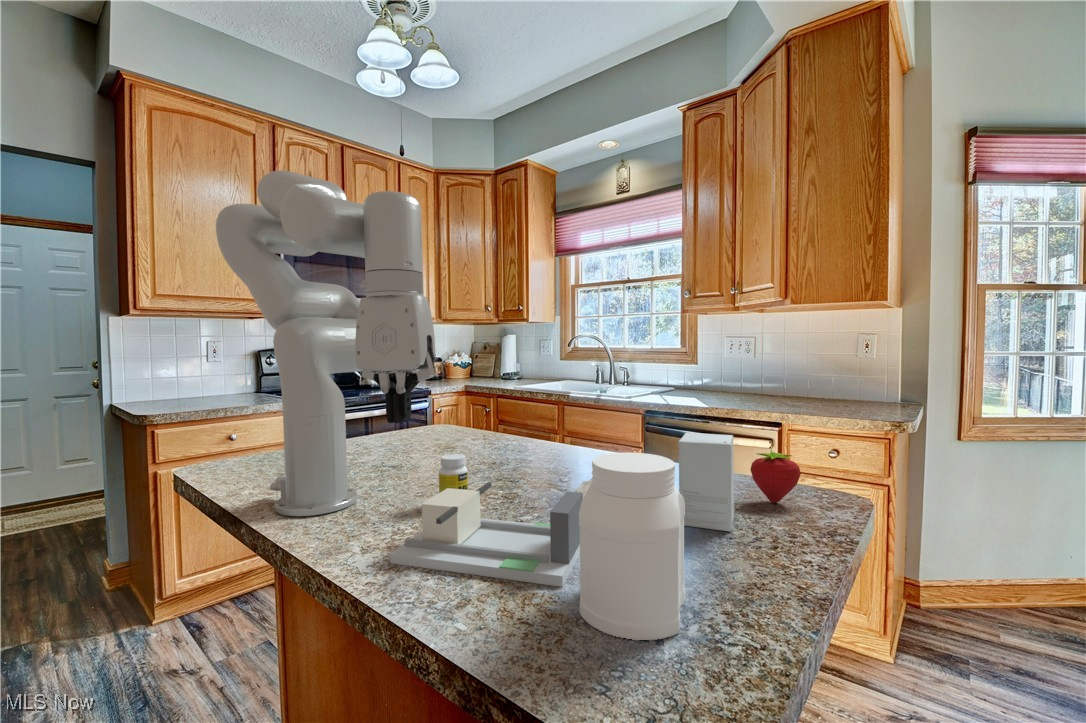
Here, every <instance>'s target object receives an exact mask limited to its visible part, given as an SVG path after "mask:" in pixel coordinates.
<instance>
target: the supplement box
mask: <svg viewBox="0 0 1086 723" xmlns="http://www.w3.org/2000/svg"><path fill="white" fill-rule="evenodd" d="M677 445H678V448H677V449H678V491H679V492H680V494H681V495H682V496H683V498H684V503H685V515H684V527H685V526H687V527H693V528H694V527H695V528H702V529H710V530H715V531H724V532H732V529H733V522H734V517H735V492H734V490H735V486H734V485H735V484H734V483H735V479H734V472H735V471H734V470H735V468H734V463H735V462H734V460H735V458H734V455H735V454H734V434H719V433H718V434H717V433H716V434H715V433H701V432H700V433H698V432H697V433H696V432H685V433H684V435H683V436H681V438H680V439H679V440H678V441H677Z"/></svg>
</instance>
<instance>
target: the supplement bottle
mask: <svg viewBox="0 0 1086 723" xmlns="http://www.w3.org/2000/svg"><path fill="white" fill-rule="evenodd" d="M465 465H466V455H465V454H462V453H460V454H459V453H451V454H445V455H442V456H441V457H440V469H439V470H438V494H439V493H441V492H442V491H444V490H445V489H447V488H452V489H464V490H469V482H468V481H469V480H468V478H469V475H468V474H469V471H468V468H467V467H466V466H465Z"/></svg>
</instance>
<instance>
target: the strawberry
mask: <svg viewBox="0 0 1086 723" xmlns="http://www.w3.org/2000/svg"><path fill="white" fill-rule="evenodd" d="M774 445H775V443H773V445H772V446H771V448H770V452H769V453H765V452H764V453H761V452H759V453H756V455H759V456H763V457H760V458H756V459H755V460H753V461H752V463H751V465H750V466H751V467H750V473H751V477H752V480H753V481H754V483H755V484H756V486H757V487H758V489H760V490H759V491H761V492H762V493H763V494H764V496H765V497H766V498H767V499H768V500H769V501H770V502H771V503H773V504H777V503H779V502H781V501H782V499H784V497H786V496H787V495H788V494H790V492H791V491H792V490H793V489H794V488H795V487H796V486H797V485H798V483H799V480H800V477H801V474H802V473H801V469H800V466H799V465H798V464H797V463H796V462H795V461H793V460H791V458H790V457H792V456H793V455H791V454H783V453H781V452H780V453H779V452H773V448H774Z"/></svg>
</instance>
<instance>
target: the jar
mask: <svg viewBox="0 0 1086 723" xmlns="http://www.w3.org/2000/svg"><path fill="white" fill-rule="evenodd" d="M591 467H592V468H591V469H592V471H591V475H592V477H591V479H592V484H591V486H590V487H589V489H588V491H587V492H586V494H585V497H584V499H583V500H582V503H581V507H580V512H579V526H580V554H579V568H580V570H579V574H580V575H579V576H580V577H579V578H580V580H579V582H580V583H579V585H580V586H579V587H580V589H579V590H580V594H579V595H580V598H579V615H580V616H581V617H582V619H583V620H584V621H585V622H586V623H587V624H589V626H591V627H593V628H594V629H596V630H597V629H598V631H600V632H601V631H602V632H601V633H603V634H606V633H607V634H606V635H609V634H610V635H609V636H611V635H613V636H612V637H615V636H616V638H618V637H621V638H620V639H623V638H626V639H625V640H628V639H632V640H631V641H639V640H649V641H657V640H658V639H659V640H663V639H667V637H668V638H671V637H673V636H676V635H677V634H679V633H680V629H681V613H680V612H681V611H680V609H681V607H682V606H683V605H684V604H685V599H686V593H685V592H686V587H685V526H684V515H685V503H684V498H683V496H682V495H681V494H680V492H679V489H677V486H676V463H675V462H674V460H673V459H670V458H668V457H665V456H662V455H658V454H652V453H644V452H614V453H607V454H602V455H598V456H596V457H594V458H593V459H592V461H591Z"/></svg>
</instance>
